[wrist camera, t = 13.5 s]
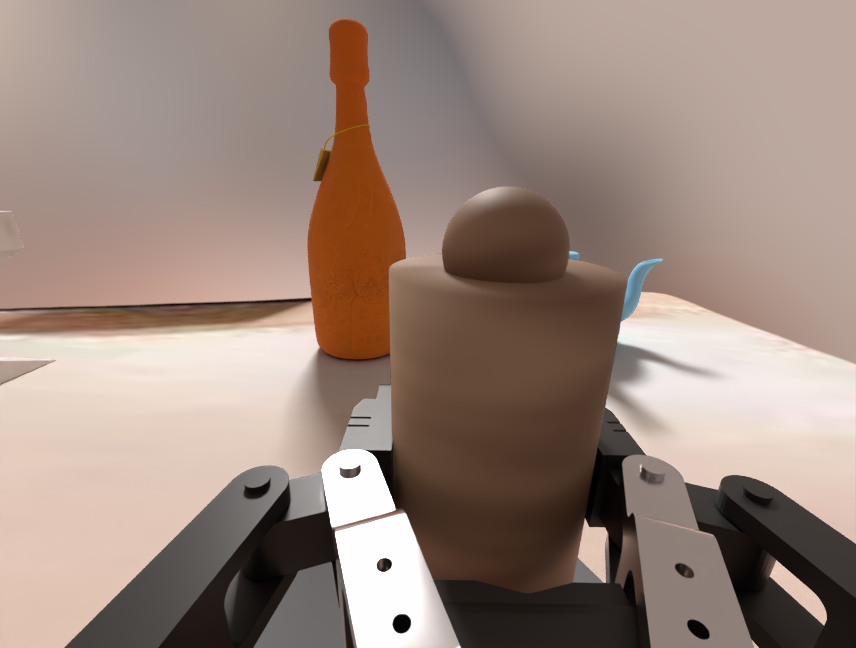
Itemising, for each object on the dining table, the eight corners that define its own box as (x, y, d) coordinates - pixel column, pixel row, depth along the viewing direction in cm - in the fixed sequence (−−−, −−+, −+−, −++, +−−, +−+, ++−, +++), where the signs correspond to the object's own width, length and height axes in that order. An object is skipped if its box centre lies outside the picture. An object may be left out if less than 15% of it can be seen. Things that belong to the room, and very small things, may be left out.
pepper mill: (449, 808, 10) (486, 185, 5) (371, 620, 14) (351, 184, 9) (589, 688, 12) (703, 189, 8) (487, 559, 17) (519, 187, 12)
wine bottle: (370, 324, 51) (361, 47, 41) (424, 346, 44) (429, 22, 34) (298, 344, 44) (266, 20, 34) (349, 373, 38) (328, -17, 28)
